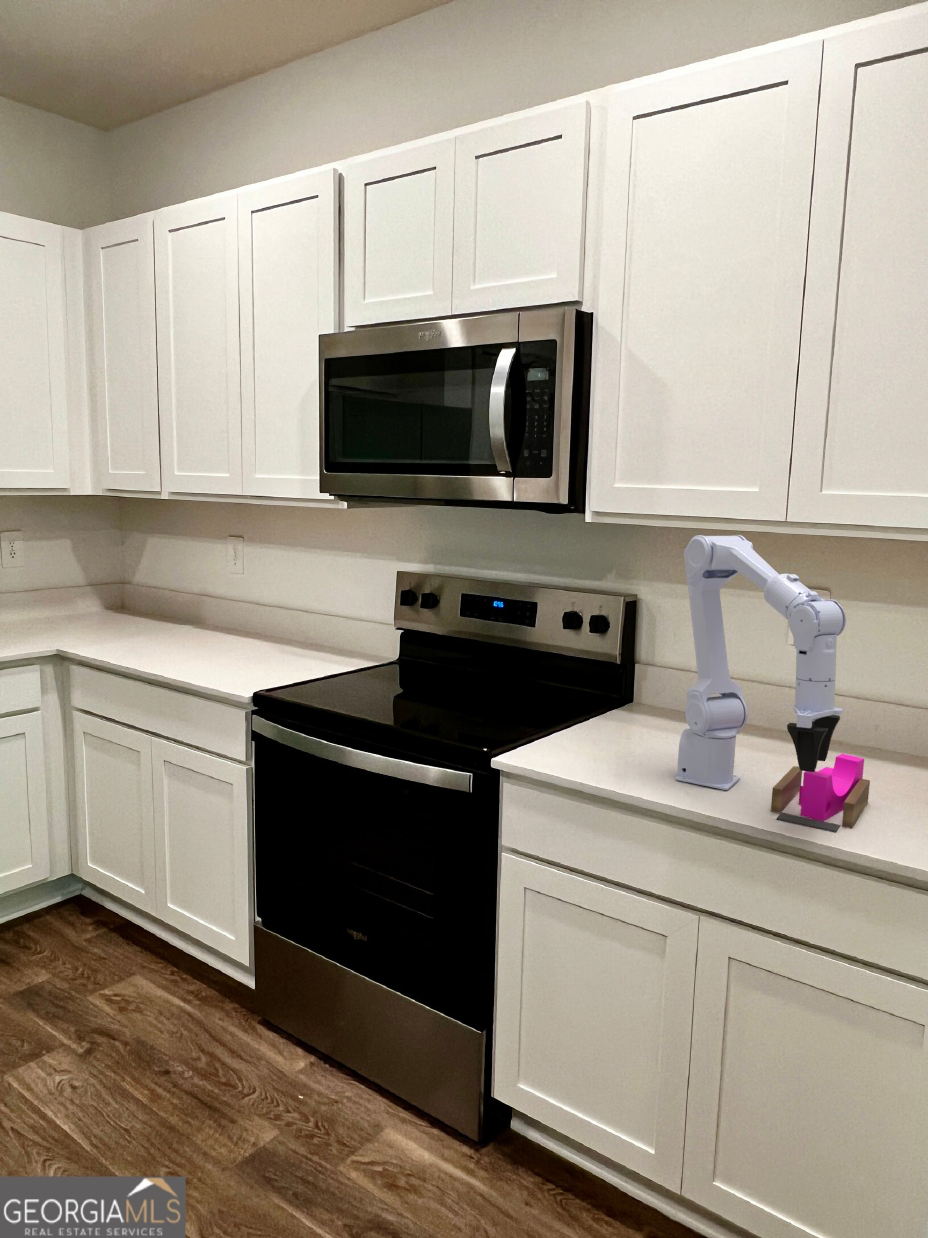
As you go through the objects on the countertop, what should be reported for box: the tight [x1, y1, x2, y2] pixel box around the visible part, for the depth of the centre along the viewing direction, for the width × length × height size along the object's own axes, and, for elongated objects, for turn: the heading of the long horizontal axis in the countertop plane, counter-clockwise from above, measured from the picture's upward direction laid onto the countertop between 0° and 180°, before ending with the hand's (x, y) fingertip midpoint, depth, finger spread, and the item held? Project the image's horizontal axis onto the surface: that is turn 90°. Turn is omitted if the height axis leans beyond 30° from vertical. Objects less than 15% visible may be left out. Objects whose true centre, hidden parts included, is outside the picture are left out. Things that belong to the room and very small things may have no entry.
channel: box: [770, 765, 871, 829], centre depth 150 cm, size 12×14×4 cm
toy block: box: [797, 753, 865, 822], centre depth 151 cm, size 15×6×8 cm, turn 135°
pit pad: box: [776, 811, 841, 833], centre depth 143 cm, size 9×3×1 cm, turn 57°
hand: (812, 765), depth 140 cm, fingers open, 7 cm apart
